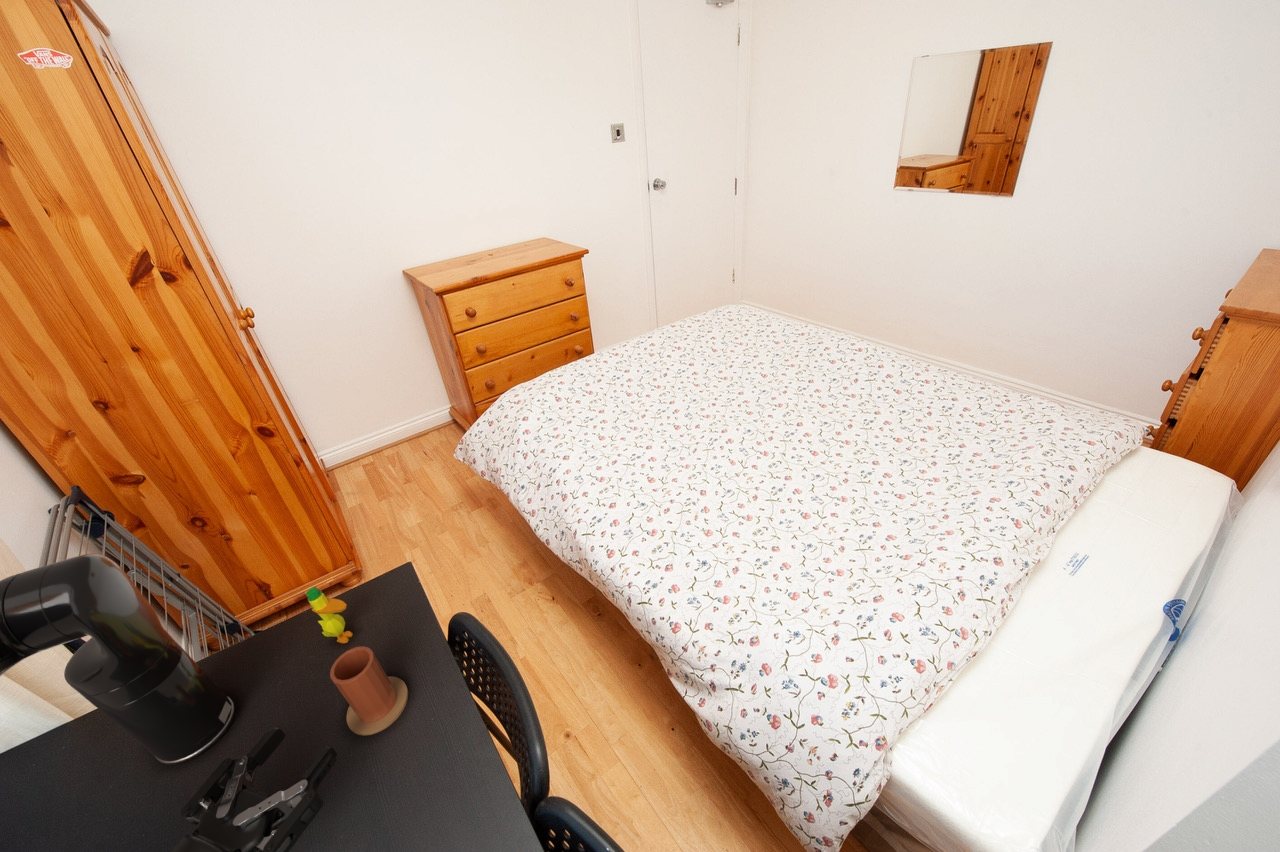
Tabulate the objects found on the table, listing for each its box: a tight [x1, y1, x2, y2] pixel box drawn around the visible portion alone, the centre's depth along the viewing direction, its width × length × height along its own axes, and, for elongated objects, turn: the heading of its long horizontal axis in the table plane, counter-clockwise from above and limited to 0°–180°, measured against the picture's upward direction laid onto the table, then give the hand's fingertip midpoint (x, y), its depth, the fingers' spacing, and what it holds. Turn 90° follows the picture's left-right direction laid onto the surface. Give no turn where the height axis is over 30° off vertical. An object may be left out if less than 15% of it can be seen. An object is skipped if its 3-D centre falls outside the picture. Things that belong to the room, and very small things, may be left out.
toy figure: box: [305, 586, 354, 644], centre depth 81 cm, size 7×4×12 cm, turn 84°
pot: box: [329, 645, 397, 723], centre depth 71 cm, size 5×5×10 cm
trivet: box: [345, 676, 409, 736], centre depth 74 cm, size 8×8×1 cm
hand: (306, 739), depth 62 cm, fingers open, 8 cm apart
